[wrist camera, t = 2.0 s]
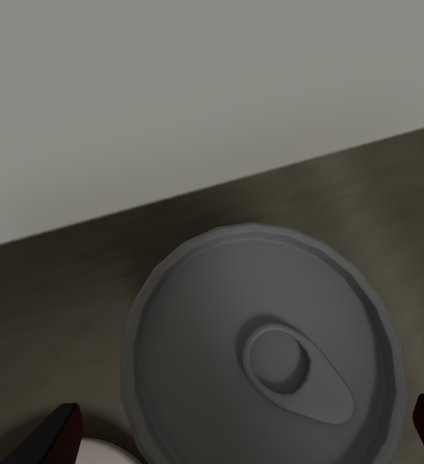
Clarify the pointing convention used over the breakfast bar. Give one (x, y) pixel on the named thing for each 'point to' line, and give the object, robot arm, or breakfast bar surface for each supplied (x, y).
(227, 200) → the breakfast bar surface
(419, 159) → the breakfast bar surface
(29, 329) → the breakfast bar surface
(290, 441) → the beer can
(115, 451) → the dish
